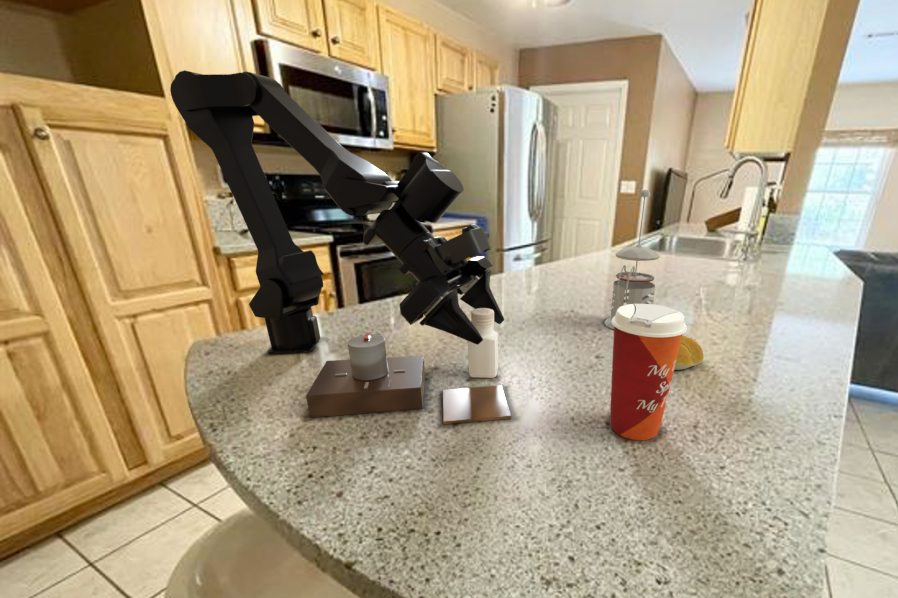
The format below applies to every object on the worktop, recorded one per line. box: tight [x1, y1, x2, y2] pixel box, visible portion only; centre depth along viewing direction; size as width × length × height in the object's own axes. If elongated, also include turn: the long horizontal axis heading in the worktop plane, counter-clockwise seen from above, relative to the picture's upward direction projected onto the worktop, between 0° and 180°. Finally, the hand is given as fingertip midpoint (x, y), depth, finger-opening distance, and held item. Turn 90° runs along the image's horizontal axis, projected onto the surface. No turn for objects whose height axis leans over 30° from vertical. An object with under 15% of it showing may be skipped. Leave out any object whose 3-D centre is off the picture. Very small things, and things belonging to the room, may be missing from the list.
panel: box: [305, 354, 426, 419], centre depth 55 cm, size 13×10×3 cm
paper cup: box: [609, 303, 688, 441], centre depth 46 cm, size 8×8×14 cm
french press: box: [604, 189, 661, 330], centre depth 78 cm, size 10×12×25 cm
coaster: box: [442, 385, 512, 425], centre depth 53 cm, size 8×8×1 cm
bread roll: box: [674, 335, 704, 371], centre depth 67 cm, size 8×9×4 cm
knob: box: [346, 332, 388, 380], centre depth 53 cm, size 4×4×5 cm
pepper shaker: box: [467, 308, 499, 379], centre depth 60 cm, size 4×4×10 cm
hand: (492, 331), depth 59 cm, fingers open, 8 cm apart
